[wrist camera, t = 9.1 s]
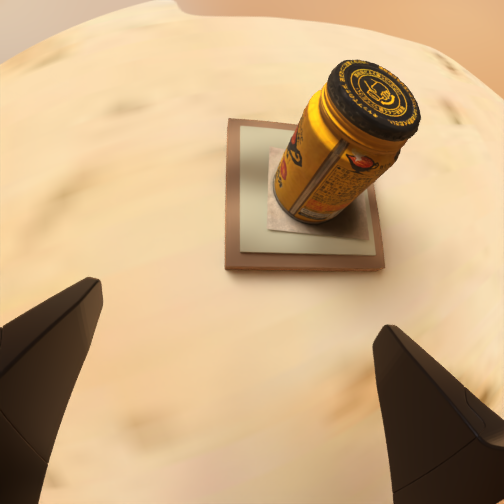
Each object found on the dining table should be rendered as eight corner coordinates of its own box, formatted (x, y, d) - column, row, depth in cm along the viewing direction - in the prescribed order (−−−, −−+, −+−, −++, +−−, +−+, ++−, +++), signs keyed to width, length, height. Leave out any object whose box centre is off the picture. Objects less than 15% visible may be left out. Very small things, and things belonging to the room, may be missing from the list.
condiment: (268, 147, 24) (313, 34, 13) (360, 164, 26) (437, 79, 14) (265, 230, 23) (326, 135, 11) (367, 241, 24) (472, 178, 12)
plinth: (377, 270, 25) (386, 267, 23) (224, 269, 23) (226, 265, 21) (358, 142, 28) (364, 134, 27) (227, 126, 26) (229, 116, 25)
